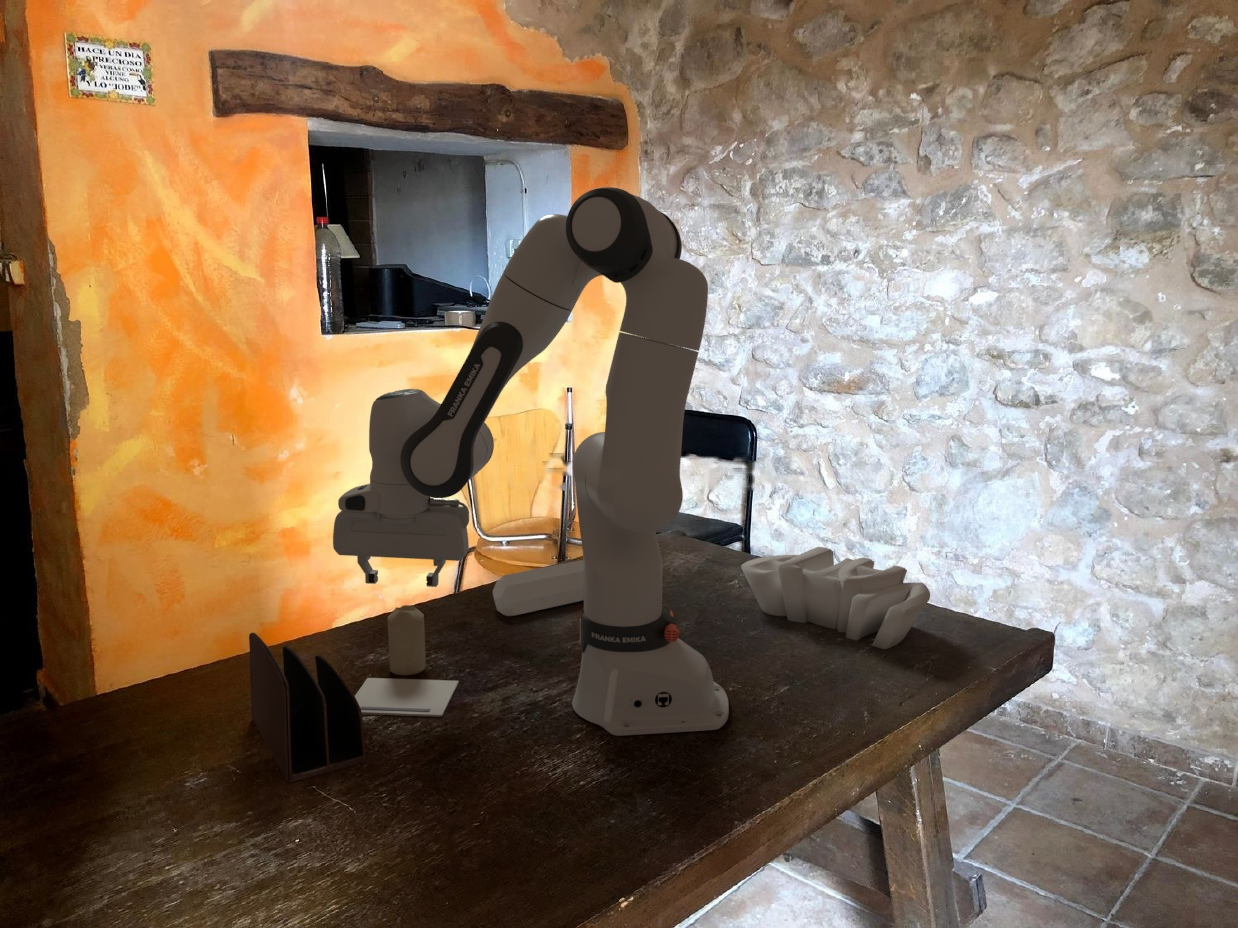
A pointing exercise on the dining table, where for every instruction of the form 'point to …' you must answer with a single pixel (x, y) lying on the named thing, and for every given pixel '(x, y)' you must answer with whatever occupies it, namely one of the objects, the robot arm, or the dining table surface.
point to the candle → (406, 641)
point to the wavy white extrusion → (838, 594)
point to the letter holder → (304, 714)
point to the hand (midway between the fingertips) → (402, 584)
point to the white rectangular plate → (405, 696)
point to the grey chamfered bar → (539, 588)
